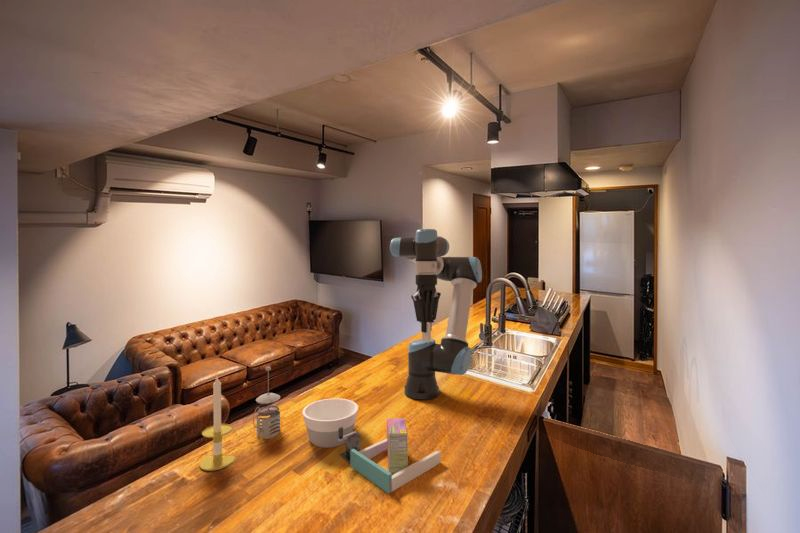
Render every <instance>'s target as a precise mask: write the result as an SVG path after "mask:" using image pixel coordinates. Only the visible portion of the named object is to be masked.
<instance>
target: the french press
mask: <svg viewBox="0 0 800 533" xmlns="http://www.w3.org/2000/svg"><path fill="white" fill-rule="evenodd" d="M264 370H265V371H267V392H266V393H264V394H261V395H259V396H258V397H256V399H255V401H256V403H257V404H260V405H265V406H262V407H260V406H257V407H256V408H255V410H254V413H253V416H252V424H253V426H254V428H255V429H256V436H257V438H258V439H263V440H264V439H265V440H266V439H271V438H274V437H277V436H278V435H279V434H280V431H279V430H281V412H280V407H279V406H276V405H270V404H273V403H275V402H277V401H279V400H280V399H281V396H280V394H277V393H274V392H269V391H270V390H269V388H270V387H269V386H270V385H269V383H270V380H269V378H270V376H269V374H270V373H269V371H271V370H272V367H271V366H270V365H269V366H266V367H265V369H264ZM266 404H267V405H266ZM256 411H257V414H256ZM255 414H256V425H255V418H254V417H255ZM273 432H274V433H273Z"/></svg>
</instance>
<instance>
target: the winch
mask: <svg viewBox="0 0 800 533" xmlns="http://www.w3.org/2000/svg"><path fill="white" fill-rule="evenodd" d="M344 440H346V442H345V451H344V452H342V453H340V454H339V456H340V457H341V458H343V459H344V460H345V461H346V462H347V463H348V464H350V450H352V449H355V450H356V451H360V450H361V434H360V433H359V432H357V431H356V430H353V432H351V433H348V434H347V435H344V436H343V427H339V428H338V441H339V442H341V441H344Z"/></svg>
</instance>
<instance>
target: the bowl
mask: <svg viewBox="0 0 800 533" xmlns="http://www.w3.org/2000/svg"><path fill="white" fill-rule="evenodd" d="M359 408H360V407H359V405H358V404H357V403H356V402H355V401H353V400H350V399H346V398H325V399H319V400H316V401H313V402H311V403H309V404H307V405H306V406H305V407H303V409H302V411H301V412H302V417H303V420H304V421H303V422H304V424H305V427H306V432H307V435H308V439H309V441H310V443H311V444H312V445H314V446H316V447H318V448H319V447H320V448H334V447H339V446H342V445H344V444H346V440H344V441H341V442H339V441H338V428H339V427H343V436H344V435H347V434H348V433H351V432H354V429H355V424H356V420H357V417H358V414H359V413H358V412H359Z"/></svg>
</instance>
